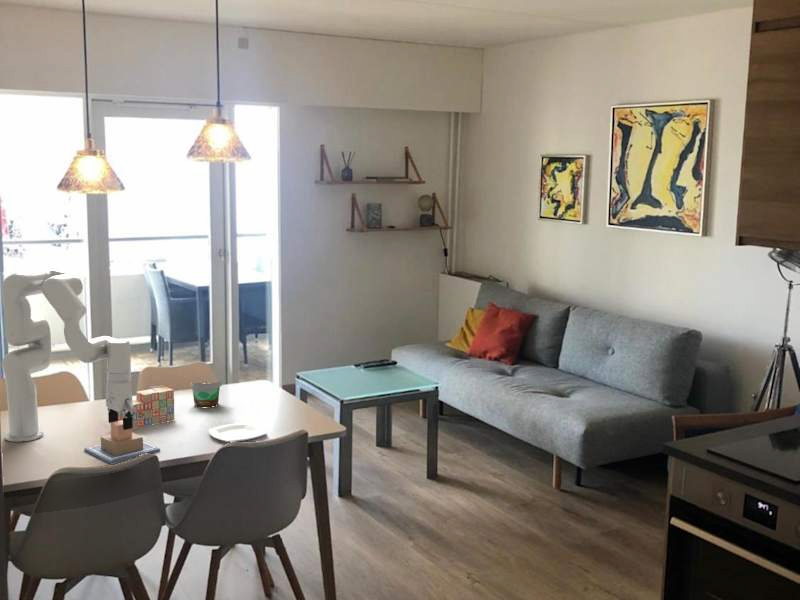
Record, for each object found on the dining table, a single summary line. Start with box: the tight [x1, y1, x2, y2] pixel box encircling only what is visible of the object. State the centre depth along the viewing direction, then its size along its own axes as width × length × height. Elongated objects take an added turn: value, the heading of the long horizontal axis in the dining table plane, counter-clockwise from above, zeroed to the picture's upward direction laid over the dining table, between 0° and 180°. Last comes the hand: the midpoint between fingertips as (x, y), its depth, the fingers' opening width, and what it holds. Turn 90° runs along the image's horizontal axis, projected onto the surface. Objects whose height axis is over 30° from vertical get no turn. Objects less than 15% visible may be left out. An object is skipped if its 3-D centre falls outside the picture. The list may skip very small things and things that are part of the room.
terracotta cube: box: [110, 420, 133, 440], centre depth 285 cm, size 5×5×5 cm
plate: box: [208, 422, 268, 443], centre depth 305 cm, size 19×19×2 cm
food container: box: [189, 380, 222, 408], centre depth 340 cm, size 12×6×10 cm, turn 104°
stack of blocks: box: [118, 387, 175, 430], centre depth 316 cm, size 21×6×12 cm, turn 133°
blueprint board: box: [83, 432, 161, 465], centre depth 286 cm, size 18×18×5 cm
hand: (120, 425), depth 285 cm, fingers open, 9 cm apart
